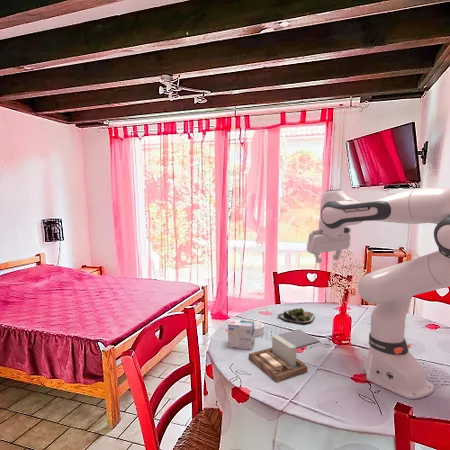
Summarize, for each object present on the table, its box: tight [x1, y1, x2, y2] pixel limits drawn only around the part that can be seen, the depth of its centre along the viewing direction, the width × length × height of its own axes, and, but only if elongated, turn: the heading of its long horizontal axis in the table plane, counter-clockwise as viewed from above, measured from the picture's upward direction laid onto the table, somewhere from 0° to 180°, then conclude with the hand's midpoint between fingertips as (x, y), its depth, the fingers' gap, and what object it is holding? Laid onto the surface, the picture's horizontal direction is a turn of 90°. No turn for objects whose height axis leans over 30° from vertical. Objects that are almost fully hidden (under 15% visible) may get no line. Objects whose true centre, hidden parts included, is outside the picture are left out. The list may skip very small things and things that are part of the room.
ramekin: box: [254, 320, 265, 337], centre depth 160 cm, size 9×9×4 cm
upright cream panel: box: [271, 334, 297, 369], centre depth 132 cm, size 12×2×9 cm, turn 27°
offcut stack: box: [260, 353, 284, 373], centre depth 129 cm, size 11×3×3 cm, turn 27°
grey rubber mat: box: [277, 329, 320, 350], centre depth 153 cm, size 14×14×1 cm
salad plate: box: [276, 307, 315, 325], centre depth 180 cm, size 19×18×5 cm
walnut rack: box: [248, 347, 308, 383], centre depth 131 cm, size 19×14×2 cm
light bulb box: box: [227, 318, 256, 351], centre depth 147 cm, size 11×7×11 cm, turn 74°
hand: (327, 261), depth 141 cm, fingers open, 8 cm apart
